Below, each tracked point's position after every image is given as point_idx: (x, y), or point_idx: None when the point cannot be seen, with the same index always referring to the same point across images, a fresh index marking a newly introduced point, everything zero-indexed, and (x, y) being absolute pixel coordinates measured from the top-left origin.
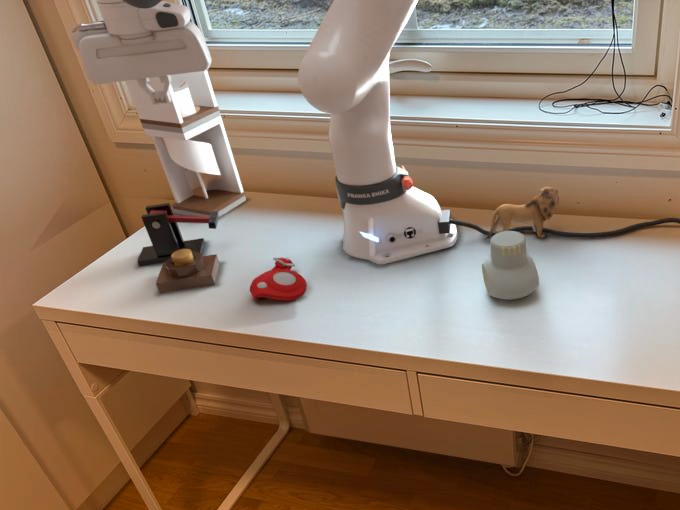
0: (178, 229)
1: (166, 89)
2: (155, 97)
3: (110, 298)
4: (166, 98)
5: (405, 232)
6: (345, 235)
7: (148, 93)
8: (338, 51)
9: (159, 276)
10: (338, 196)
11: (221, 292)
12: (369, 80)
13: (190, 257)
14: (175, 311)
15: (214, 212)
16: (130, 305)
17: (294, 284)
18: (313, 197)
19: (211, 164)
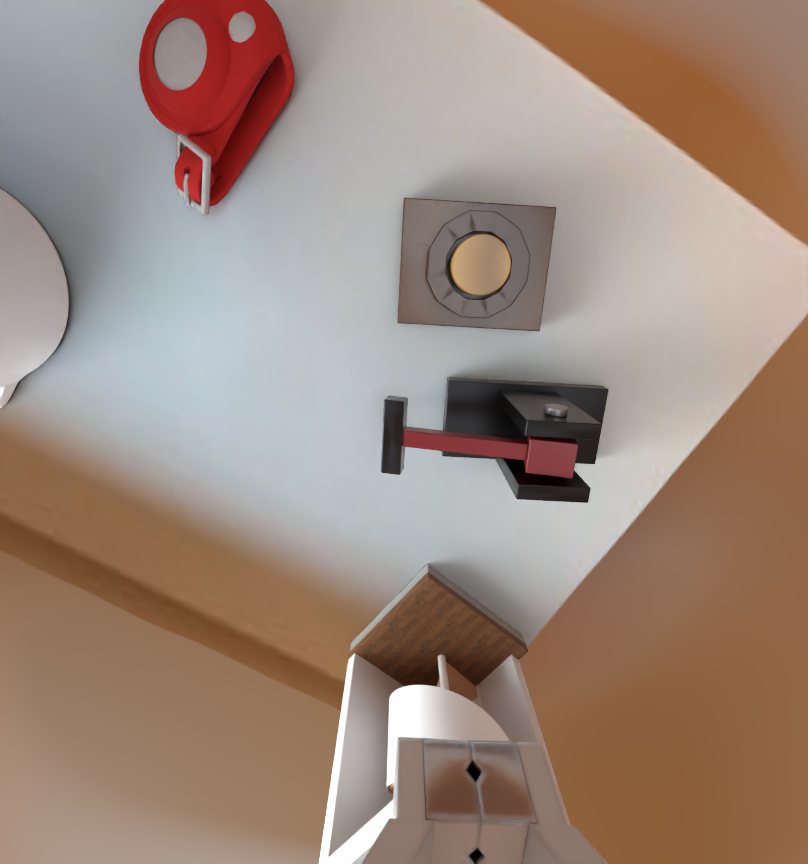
0: (500, 458)
1: (384, 852)
2: (511, 792)
3: (671, 238)
4: (414, 766)
5: None
6: (16, 258)
7: (575, 842)
8: None
9: (547, 247)
10: None
11: (385, 153)
12: None
13: (456, 249)
14: (503, 90)
15: (390, 466)
16: (620, 176)
17: (156, 33)
18: (180, 598)
19: (398, 713)
